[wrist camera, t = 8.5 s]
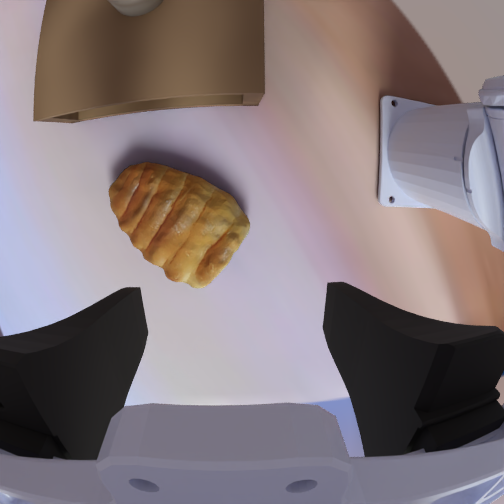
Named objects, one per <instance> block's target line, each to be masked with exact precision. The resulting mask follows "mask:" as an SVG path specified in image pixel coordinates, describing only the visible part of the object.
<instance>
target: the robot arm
mask: <svg viewBox="0 0 504 504" xmlns="http://www.w3.org/2000/svg"><path fill="white" fill-rule="evenodd" d="M479 97H480V100H481V102H474V103H461V104H450V105H440V106H436V105H432V104H428V103H423V102H419V101H414V100H409V99H404V98H399V97H394V96H383V97H382V98H381V100H380V170H379V189H378V202H379V203H380V204H381V205H383V206H392V207H418V208H435V209H438V210H440V211H443V212H445V213H448V214H450V215H452V216H455V217H457V218H459V219H462V220H464V221H466V222H469V223H471V224H473V225H475V226H478V227H480V228H482V229H484V230H486V231H487V232H488V233H489V235H490V238H491V243H492V246H494V247H496V248H498V249H500V250H501V251H503V252H504V75H503V76H498V77H493V78H489V79H486V80H485V82H484V84H483V86H482V89H481V90H479ZM392 100H393V101H394V102H395V106H393V105H392V103H391V102H392ZM391 196H392V198H393V199H392V201H391V202H389V198H390V197H391ZM323 331H324V334H325V338H326V342H327V345H328V348H329V350H330V353H331V355H332V357H333V359H334V362H335V364H336V366H337V368H338V370H339V372H340V375H341V377H342V379H343V381H344V383H345V386H346V388H347V390H348V393H349V396H350V398H351V402H352V405H353V408H354V412H355V415H356V419H357V423H358V427H359V431H360V435H361V440H362V444H363V449H364V455H365V457H349V454H348V452H347V449H346V445H345V442H344V439H343V437H342V434H341V431H340V428H339V425H338V422H337V419H336V416H334V415H333V414H331V413H329V412H328V411H326V410H325V409H323V408H321V407H320V406H318V405H309V404H296V403H275V404H258V405H220V406H210V405H172V404H155V403H152V404H143V405H134V406H125V407H124V404H125V401H126V398H127V394H128V392H129V389H130V386H131V384H132V381H133V379H134V376H135V374H136V371H137V369H138V366H139V363H140V361H141V358H142V356H143V353H144V349H145V345H146V341H147V336H148V328H147V323H146V318H145V312H144V307H143V301H142V295H141V289H140V287H126V288H123V289H120V290H118V291H116V292H114V293H112V294H111V295H109V296H107V297H105V298H104V299H102V300H100V301H98V302H97V303H95V304H93V305H91V306H89V307H87V308H86V309H84V310H82V311H80V312H78V313H76V314H74V315H72V316H70V317H68V318H66V319H63V320H61V321H58V322H56V323H53V324H51V325H48V326H45V327H41V328H38V329H35V330H32V331H28V332H24V333H20V334H15V335H9V336H3V337H0V504H490V503H492V502H493V501H495V500H496V499H498V498H499V497H500V496H502V495H504V404H503V405H502V406H501V405H500V404H499V402H498V401H497V399H498V398H499V397H500V393H499V392H498V390H497V389H496V388H495V387H496V385H497V383H498V381H499V379H500V377H501V375H502V373H503V371H504V332H503V331H502V330H500V329H499V328H498V327H496V326H474V325H463V324H455V323H449V322H443V321H439V320H434V319H430V318H426V317H423V316H419V315H416V314H413V313H410V312H407V311H405V310H402V309H399V308H397V307H395V306H393V305H390V304H388V303H386V302H384V301H382V300H379V299H377V298H375V297H373V296H371V295H369V294H368V293H366V292H364V291H362V290H360V289H358V288H356V287H354V286H352V285H350V284H347V283H344V282H331V283H327V293H326V303H325V312H324V321H323Z"/></svg>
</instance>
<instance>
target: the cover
mask: <svg viewBox="0 0 504 504" xmlns="http://www.w3.org/2000/svg"><path fill="white" fill-rule="evenodd" d="M264 94H265V63H264V0H47V1H46V5H45V10H44V15H43V21H42V26H41V32H40V39H39V46H38V54H37V63H36V74H35V88H34V120H33V121H43V122H62V123H75V122H80V121H86V120H91V119H97V118H103V117H109V116H115V115H122V114H130V113H137V112H146V111H155V110H165V109H177V108H191V107H209V106H258V105H259V103H260V101H261V99H262V97H263V95H264Z"/></svg>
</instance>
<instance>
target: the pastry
mask: <svg viewBox="0 0 504 504" xmlns="http://www.w3.org/2000/svg"><path fill="white" fill-rule="evenodd" d="M109 197H110V202H111V204H110V205H111V209H112V211H113V212H114V214H115V215H116V217H117V219H118V222H119V226H120V228H121V230H122V231H124V232H125V233H127V234H128V236H129V237H130V240H131V242H132V244H133V246H134V247H136V248H137V249H139V250H140V251H141V252H142V253H143V256H144V258H145V259H146V260H147V261H149V262H151V263H152V264H154V265H157V266H159V267H161V268H163V269H164V271H165V275H166V277H167V278H168V279H170V280H172V281H175V282H184V283H187V284H189V285H190V286H191V287H193V288H204V287H206V286H207V285H208V284H209V283H211V281H212V280H213V279H214V278H215V277H216V276H217V275H218V274H219V273H220V272H221V271H222V270H223V269H224V268H225V267H226V266H227V264H228V263H229V262H230V260H231V258H232V255H233V253H234V252H236V251H237V250H238V248H239V246H240V244H241V243H242V241H243V240H244V238H245V237H246V236H247V235H248V233H249V229H250V222H249V219H248V218H247V216H246V215H245V214H244V212H243V211H242V210H241V209H240V207H239V206H238V204H237V202H236V200H235V199H234V198H233V197H232V196H231V195H230V194H229V193H227V192H225V191H223V190H220V189H219V188H217V187H215V186H214V185H212V184H210V183H209V182H207V181H206V180H204V179H202V178H201V177H198V176H194V175H191V174H189V173H186V172H182V171H179V170H176V169H174V168H170V167H168V166H165V165H161V164H157V163H150V162H144V163H141V164H136V165H130V166H129V167H128V168H126V169H124V171H123V172H122V173H121V174H120V175H119V177H118V178H117V180H116V181H115V182H114V183H113V184H112V185H111V187H110V188H109Z"/></svg>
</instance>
